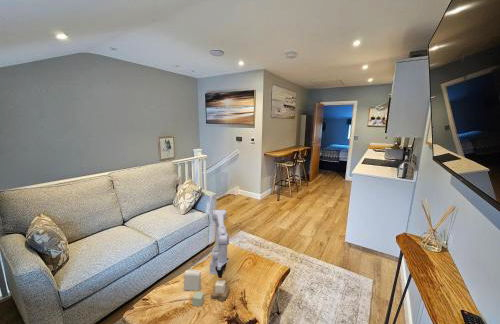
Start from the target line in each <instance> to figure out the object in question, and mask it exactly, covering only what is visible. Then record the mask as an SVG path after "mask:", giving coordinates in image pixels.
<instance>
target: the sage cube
mask: <svg viewBox="0 0 500 324" xmlns="http://www.w3.org/2000/svg"><path fill="white" fill-rule="evenodd" d="M191 300H192V302H191V304H192V306H193V307H199V306H201V307H202V305H203V303H202V302H204V301H205V292H202V291H195V292H194V294H193V297H192V299H191ZM203 300H204V301H203Z"/></svg>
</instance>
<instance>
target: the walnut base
mask: <svg viewBox="0 0 500 324" xmlns="http://www.w3.org/2000/svg"><path fill="white" fill-rule="evenodd" d="M230 291H231V287H230V285H226V288H225V291H224V294H218V293H215V287H213V290H212V292H211V294H210V300H211V299H217V300H222V301H221V302H223V301H226V299H228V298H229V297H228V296H229V293H230Z"/></svg>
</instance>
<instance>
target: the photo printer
mask: <svg viewBox="0 0 500 324" xmlns="http://www.w3.org/2000/svg"><path fill="white" fill-rule="evenodd" d="M201 273H202V271H200V270H198V269H186V270H185V271H184V277H183V289H184V291H192V292H193V291H195V292H196V291H197V292H200V290H201V287H202V286H201V285H202V284H201V283H202V281H201V280H202V279H201V277H202V274H201Z"/></svg>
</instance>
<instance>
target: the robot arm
mask: <svg viewBox="0 0 500 324" xmlns="http://www.w3.org/2000/svg"><path fill="white" fill-rule="evenodd" d="M211 215H212V219H211V220H212V222H214V223H215V245H214V246H213V248H212V249H211V259H210V262H209V274H210V275H217V278H218V279H222V278H223V275H224V272H225V271H226V269H227V264H228V263H229V258H228V245H229V243H230V242H229V241H230V239H229V234H228V232H227V227H226V226H225V223H224V222H225V220H226V218H227V210H226V208H224V209H212V212H211Z"/></svg>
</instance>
